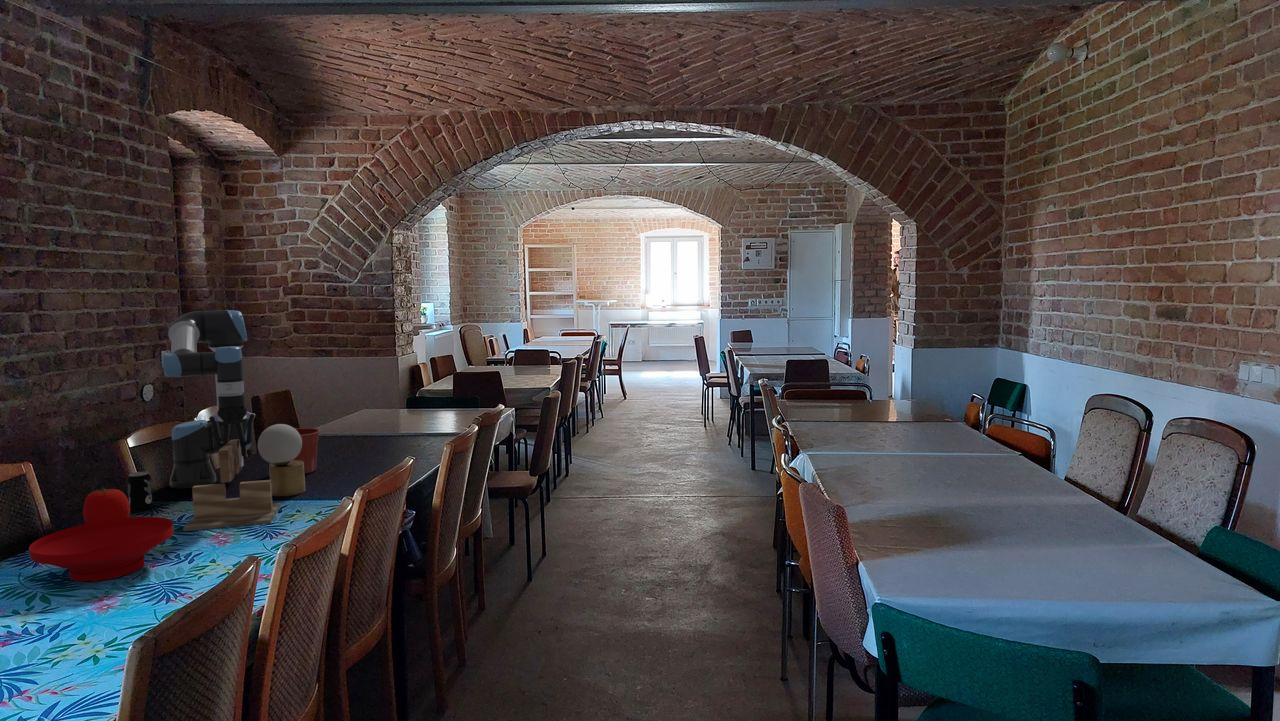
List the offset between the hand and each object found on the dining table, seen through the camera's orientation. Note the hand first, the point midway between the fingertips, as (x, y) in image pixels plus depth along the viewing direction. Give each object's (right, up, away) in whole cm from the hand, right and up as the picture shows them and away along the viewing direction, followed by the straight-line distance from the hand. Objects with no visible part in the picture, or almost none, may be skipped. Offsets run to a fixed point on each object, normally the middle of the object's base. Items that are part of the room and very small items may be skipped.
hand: (235, 466), depth 250 cm
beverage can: (-35, -15, +7) cm, 39 cm away
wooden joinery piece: (+2, -16, -5) cm, 17 cm away
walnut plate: (+2, -2, -7) cm, 7 cm away
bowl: (-7, -20, -50) cm, 55 cm away
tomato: (-28, -18, -19) cm, 38 cm away
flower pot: (-4, -10, +57) cm, 58 cm away
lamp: (+5, -13, +23) cm, 27 cm away
